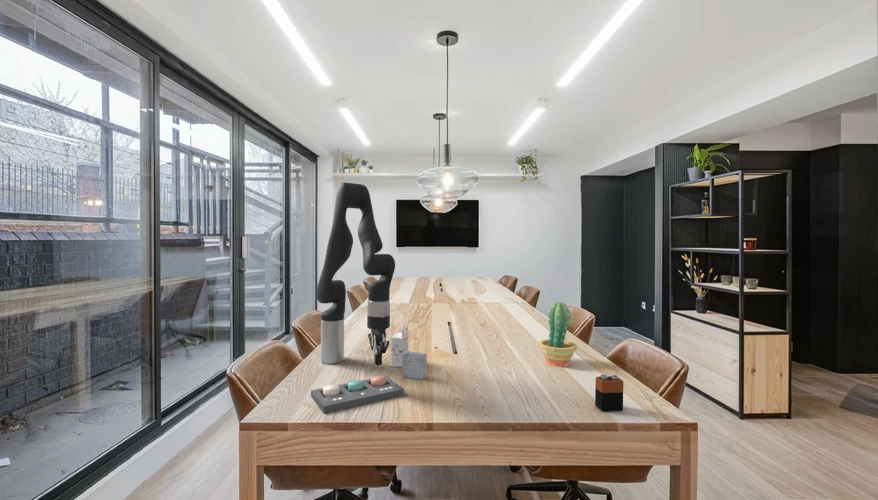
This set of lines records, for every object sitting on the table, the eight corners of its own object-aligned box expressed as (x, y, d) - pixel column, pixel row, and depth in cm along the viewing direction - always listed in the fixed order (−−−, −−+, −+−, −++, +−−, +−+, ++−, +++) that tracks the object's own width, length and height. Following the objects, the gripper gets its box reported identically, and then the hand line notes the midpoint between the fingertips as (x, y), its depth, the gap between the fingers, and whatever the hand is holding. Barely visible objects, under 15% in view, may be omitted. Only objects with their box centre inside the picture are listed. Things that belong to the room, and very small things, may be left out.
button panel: (311, 396, 125) (311, 389, 125) (385, 381, 139) (385, 375, 139) (323, 413, 113) (323, 405, 113) (403, 394, 127) (404, 388, 127)
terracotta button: (368, 386, 133) (368, 377, 132) (382, 383, 135) (382, 374, 135) (374, 391, 128) (374, 381, 128) (388, 388, 131) (388, 379, 131)
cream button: (321, 395, 124) (321, 386, 124) (336, 392, 127) (336, 383, 127) (325, 401, 120) (325, 391, 120) (341, 398, 122) (341, 388, 122)
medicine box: (426, 376, 144) (427, 353, 144) (421, 380, 140) (421, 356, 140) (408, 373, 147) (408, 350, 147) (402, 377, 143) (402, 353, 143)
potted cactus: (584, 364, 159) (586, 303, 158) (560, 371, 150) (561, 307, 150) (554, 355, 172) (555, 298, 171) (529, 361, 163) (530, 301, 162)
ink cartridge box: (397, 360, 163) (397, 325, 163) (408, 361, 162) (408, 325, 162) (390, 366, 155) (390, 329, 154) (402, 367, 154) (402, 330, 153)
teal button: (345, 390, 128) (345, 381, 128) (360, 387, 131) (360, 378, 131) (350, 396, 124) (350, 386, 124) (365, 392, 127) (365, 383, 127)
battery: (594, 405, 120) (595, 373, 119) (615, 405, 120) (616, 372, 120) (601, 412, 115) (602, 378, 115) (623, 411, 116) (624, 377, 116)
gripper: (360, 311, 135) (360, 360, 135) (376, 318, 124) (375, 372, 124) (381, 309, 139) (380, 357, 139) (397, 316, 128) (396, 368, 128)
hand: (378, 364), depth 132 cm, fingers closed
